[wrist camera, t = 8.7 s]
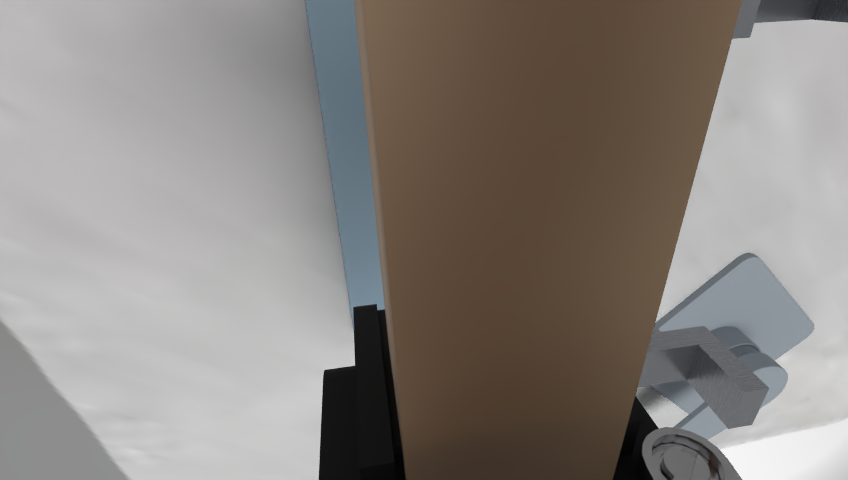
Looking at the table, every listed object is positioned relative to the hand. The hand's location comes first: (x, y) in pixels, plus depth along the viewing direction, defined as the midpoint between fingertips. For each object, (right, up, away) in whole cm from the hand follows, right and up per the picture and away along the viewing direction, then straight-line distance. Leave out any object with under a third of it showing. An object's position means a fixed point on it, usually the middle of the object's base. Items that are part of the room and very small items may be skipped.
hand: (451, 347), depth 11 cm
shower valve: (+22, -6, +27) cm, 36 cm away
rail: (0, -1, -1) cm, 1 cm away
